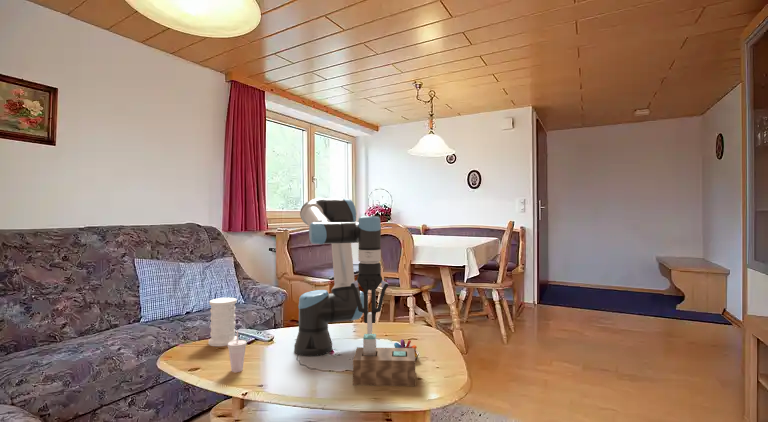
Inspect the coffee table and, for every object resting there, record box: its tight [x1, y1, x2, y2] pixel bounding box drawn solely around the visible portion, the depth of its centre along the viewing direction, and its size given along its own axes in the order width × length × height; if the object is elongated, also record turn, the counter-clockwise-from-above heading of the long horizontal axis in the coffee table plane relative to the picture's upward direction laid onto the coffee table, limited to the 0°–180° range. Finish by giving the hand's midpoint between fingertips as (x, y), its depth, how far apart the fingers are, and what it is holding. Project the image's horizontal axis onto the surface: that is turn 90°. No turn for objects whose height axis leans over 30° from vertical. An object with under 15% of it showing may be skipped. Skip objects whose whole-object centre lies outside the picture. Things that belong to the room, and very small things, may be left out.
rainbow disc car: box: [393, 339, 418, 359], centre depth 149 cm, size 8×10×7 cm
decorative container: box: [208, 297, 237, 347], centre depth 169 cm, size 12×12×18 cm
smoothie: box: [227, 330, 248, 373], centre depth 138 cm, size 6×6×14 cm
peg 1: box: [362, 333, 377, 356], centre depth 132 cm, size 4×4×8 cm
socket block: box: [352, 347, 416, 387], centre depth 131 cm, size 20×12×8 cm, turn 88°
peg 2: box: [393, 351, 406, 357], centre depth 131 cm, size 4×4×8 cm
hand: (369, 332), depth 132 cm, fingers closed
